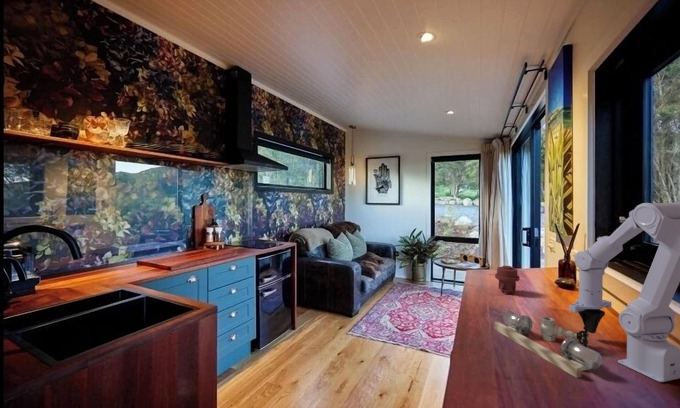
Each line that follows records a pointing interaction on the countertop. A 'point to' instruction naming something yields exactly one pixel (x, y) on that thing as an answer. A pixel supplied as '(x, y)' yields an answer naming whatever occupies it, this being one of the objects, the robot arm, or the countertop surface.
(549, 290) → the countertop surface
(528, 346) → the backing rail
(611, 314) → the countertop surface
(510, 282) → the mechanical component
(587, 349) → the pipe line
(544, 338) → the valve
